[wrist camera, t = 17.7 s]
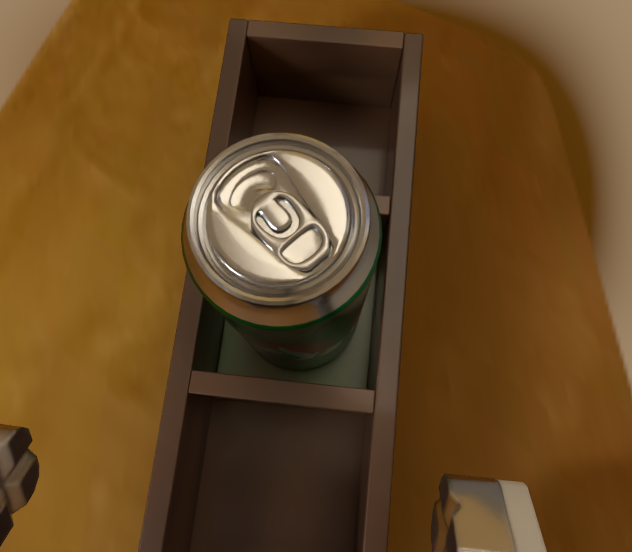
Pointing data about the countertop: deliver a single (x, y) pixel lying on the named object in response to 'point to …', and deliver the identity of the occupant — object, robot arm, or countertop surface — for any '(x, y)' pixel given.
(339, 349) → the soda can
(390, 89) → the wooden compartment tray
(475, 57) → the countertop surface
